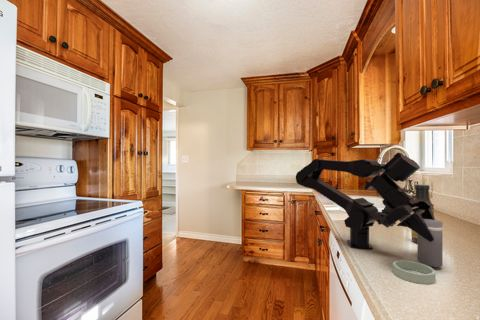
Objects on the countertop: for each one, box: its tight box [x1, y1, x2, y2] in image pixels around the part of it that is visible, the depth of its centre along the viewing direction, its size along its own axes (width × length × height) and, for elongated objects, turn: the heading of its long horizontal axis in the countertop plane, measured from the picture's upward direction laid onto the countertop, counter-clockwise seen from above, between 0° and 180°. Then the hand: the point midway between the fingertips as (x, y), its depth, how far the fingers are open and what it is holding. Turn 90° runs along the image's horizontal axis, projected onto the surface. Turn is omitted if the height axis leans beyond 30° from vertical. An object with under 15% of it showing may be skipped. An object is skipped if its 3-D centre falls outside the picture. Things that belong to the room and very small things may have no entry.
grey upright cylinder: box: [417, 219, 444, 268], centre depth 64 cm, size 5×5×11 cm
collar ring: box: [392, 259, 436, 285], centre depth 58 cm, size 8×8×2 cm
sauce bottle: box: [410, 184, 435, 244], centre depth 83 cm, size 6×6×20 cm
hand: (436, 239), depth 63 cm, fingers closed on grey upright cylinder, 5 cm apart
